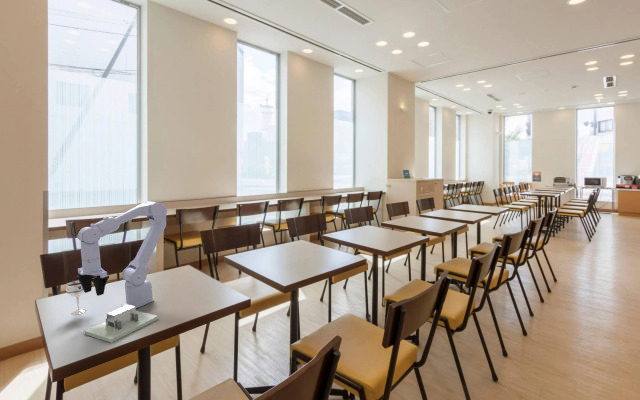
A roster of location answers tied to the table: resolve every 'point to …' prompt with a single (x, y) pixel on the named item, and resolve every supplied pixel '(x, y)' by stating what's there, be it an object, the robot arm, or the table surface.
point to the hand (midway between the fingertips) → (94, 293)
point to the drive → (121, 316)
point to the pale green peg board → (120, 327)
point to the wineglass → (75, 294)
